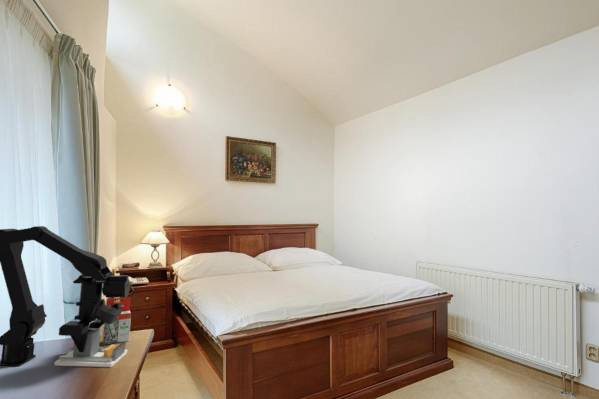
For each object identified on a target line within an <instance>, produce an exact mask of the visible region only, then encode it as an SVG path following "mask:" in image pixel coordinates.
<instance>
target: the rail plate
mask: <svg viewBox="0 0 599 399" xmlns="http://www.w3.org/2000/svg"><path fill="white" fill-rule="evenodd" d="M108 347H109V346H99V351H98V352H97V353H95V354H94V355H93V356H73V351H74V349H72V350H71V351H69V352H67V353H66V354H65V355H60V356H59V357H58V359H57V360H56V361H54V366H60V367H61V366H62V367H63V366H64V367H94V368H95V367H98V368H112V367H113V366H114V365H116V363H118V362H119V361H120V360H121V359H122V358H123V357H125V355H126V354H128V349H127V348H126V341H125V342H120V344H118V345H117V346H115V349H113V350H112V355H111V356H110V357H104V350H105V349H106V348H108Z"/></svg>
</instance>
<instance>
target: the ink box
mask: <svg viewBox="0 0 599 399" xmlns="http://www.w3.org/2000/svg"><path fill="white" fill-rule="evenodd" d="M131 298H132V296H131V297H129V296H127V297H112V298H107V299H106V305H108V306H109V305H111V306H112V305H114V304H115V303H119V304H121V314H119V316H118V318H117V320H116V321H114V322H113V323H112V324H106V323H104V324H103V331H102V332H103V333H102V334H103V335H102V345H109V344H110V345H111V344H116V343H122V342H125V343H126V342H129V341H130V332H131V320H132V313H131V310H130V308H131Z"/></svg>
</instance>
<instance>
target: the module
mask: <svg viewBox="0 0 599 399" xmlns="http://www.w3.org/2000/svg"><path fill="white" fill-rule="evenodd" d="M89 329H92V331H91V332H90V333H89V334H88V335H87V340H86V345H85V349H84V352H79V351H78V349H77V347H76V345H75V343H74V342H73V350H74V351H73V356H93V355H94V354H95V353H97V352H98V351H99V347H100V339H101V327H100V328H89Z"/></svg>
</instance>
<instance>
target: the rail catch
mask: <svg viewBox="0 0 599 399" xmlns="http://www.w3.org/2000/svg"><path fill="white" fill-rule="evenodd" d="M116 345H117V344H116V343H111V344H110V345H109V346H107V347H108V348H106V349H105V350H104V357H110V356H111V355H112V350H113V349H115V347H117V346H116Z"/></svg>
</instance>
